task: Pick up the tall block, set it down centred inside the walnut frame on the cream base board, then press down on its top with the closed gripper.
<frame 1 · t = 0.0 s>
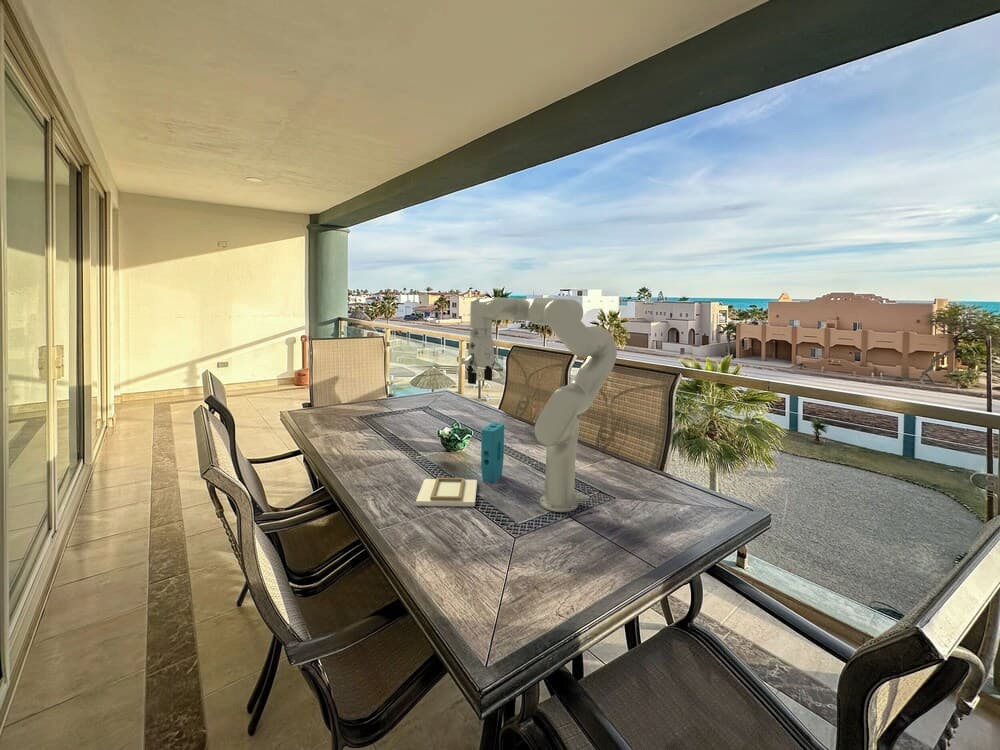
hand: (480, 381, 163), 37 cm above the table, tool pointing down, fingers open, 9 cm apart
block: (492, 478, 173), on the table
base board: (448, 494, 158), on the table
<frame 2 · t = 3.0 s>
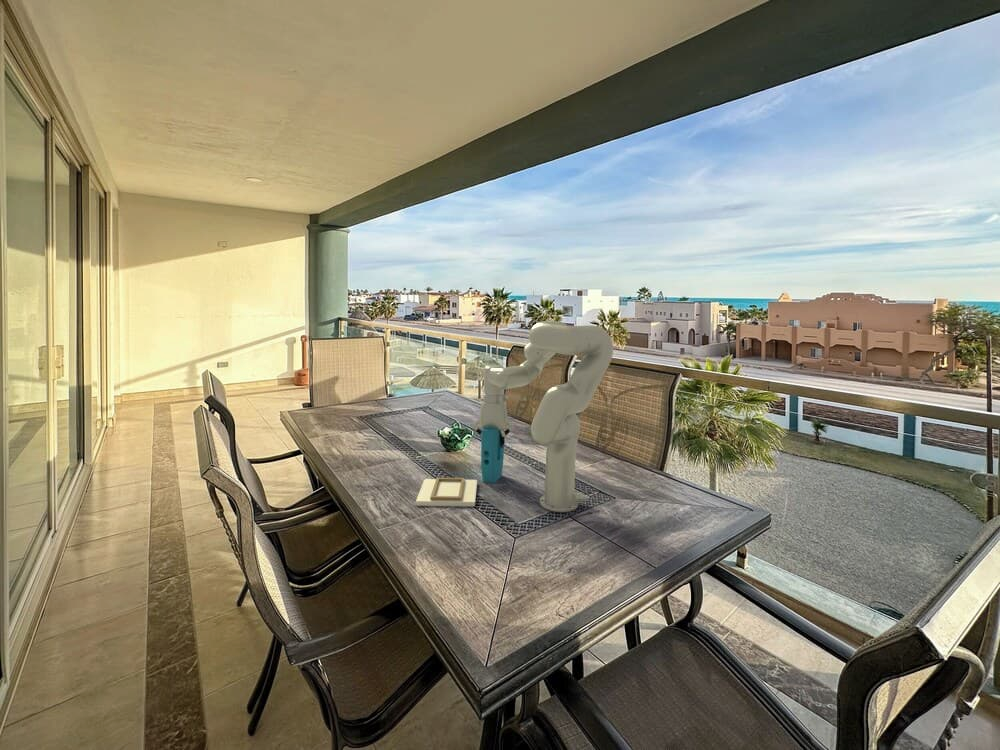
hand: (492, 446, 171), 13 cm above the table, tool pointing down, fingers closed on block, 5 cm apart
block: (492, 478, 173), on the table, touching gripper
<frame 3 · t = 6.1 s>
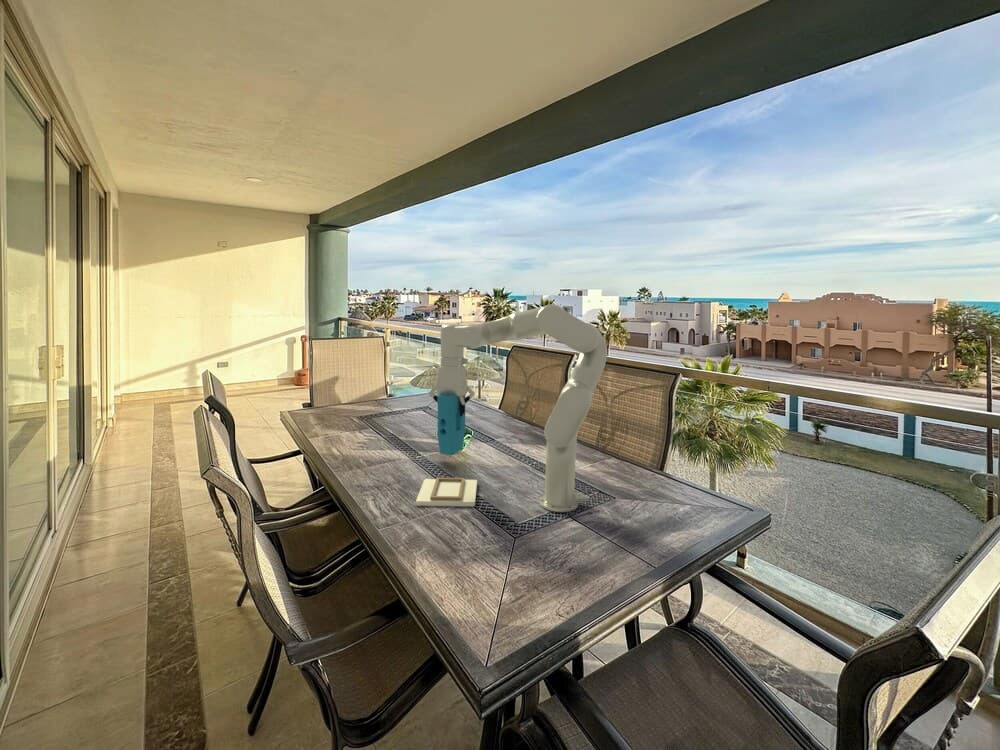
hand: (451, 414, 154), 28 cm above the table, tool pointing down, fingers closed on block, 5 cm apart
block: (451, 451, 156), point 15 cm above the table, touching gripper
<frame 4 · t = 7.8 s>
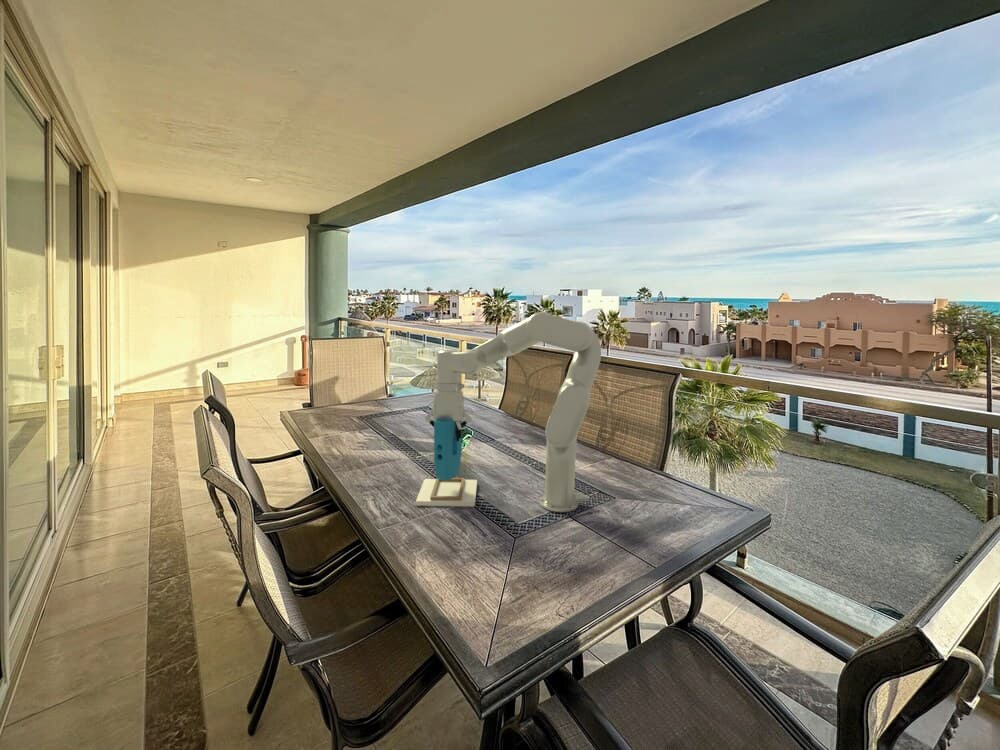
hand: (448, 439, 155), 19 cm above the table, tool pointing down, fingers closed on block, 5 cm apart
block: (447, 475, 157), point 7 cm above the table, touching gripper
when the fingers open (15 cm above the table, at t = 9.1 s): block stays where it is, resting on base board.
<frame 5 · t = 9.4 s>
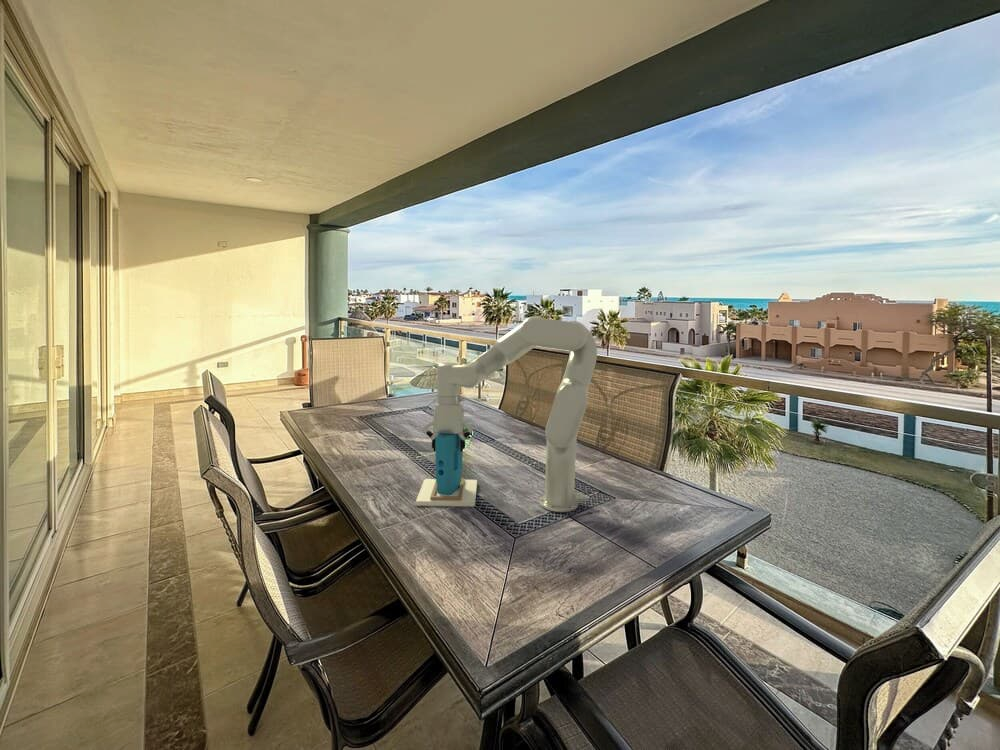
hand: (448, 450, 155), 16 cm above the table, tool pointing down, fingers open, 8 cm apart
block: (449, 490, 157), point 1 cm above the table, touching base board
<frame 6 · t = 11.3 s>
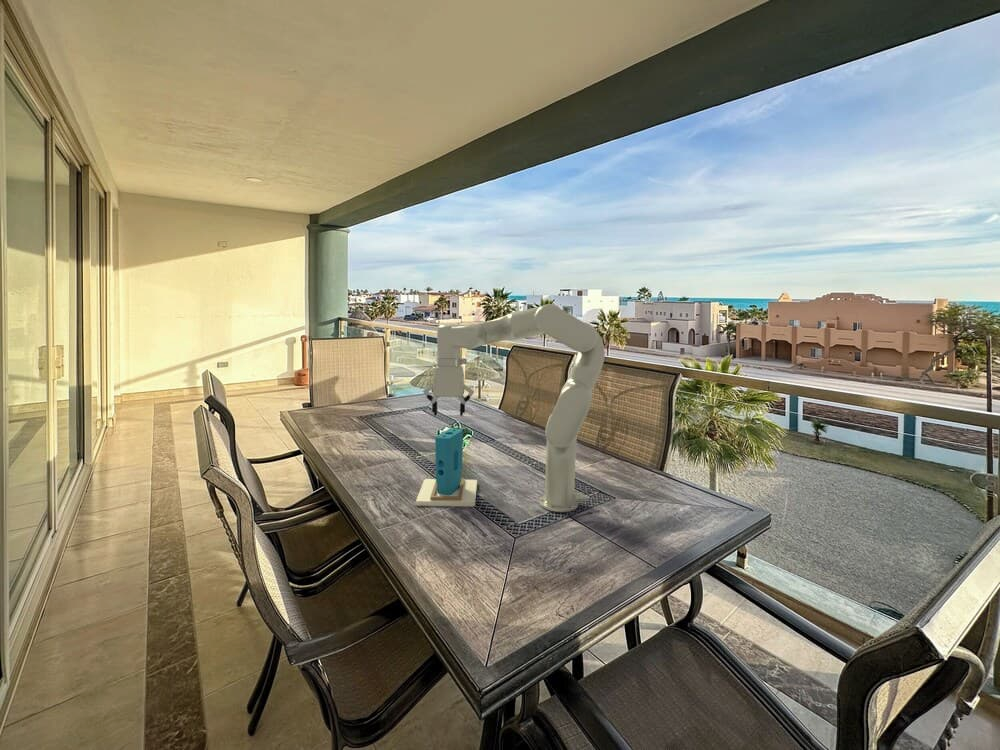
hand: (448, 414, 153), 28 cm above the table, tool pointing down, fingers open, 8 cm apart
nothing on the table moved.
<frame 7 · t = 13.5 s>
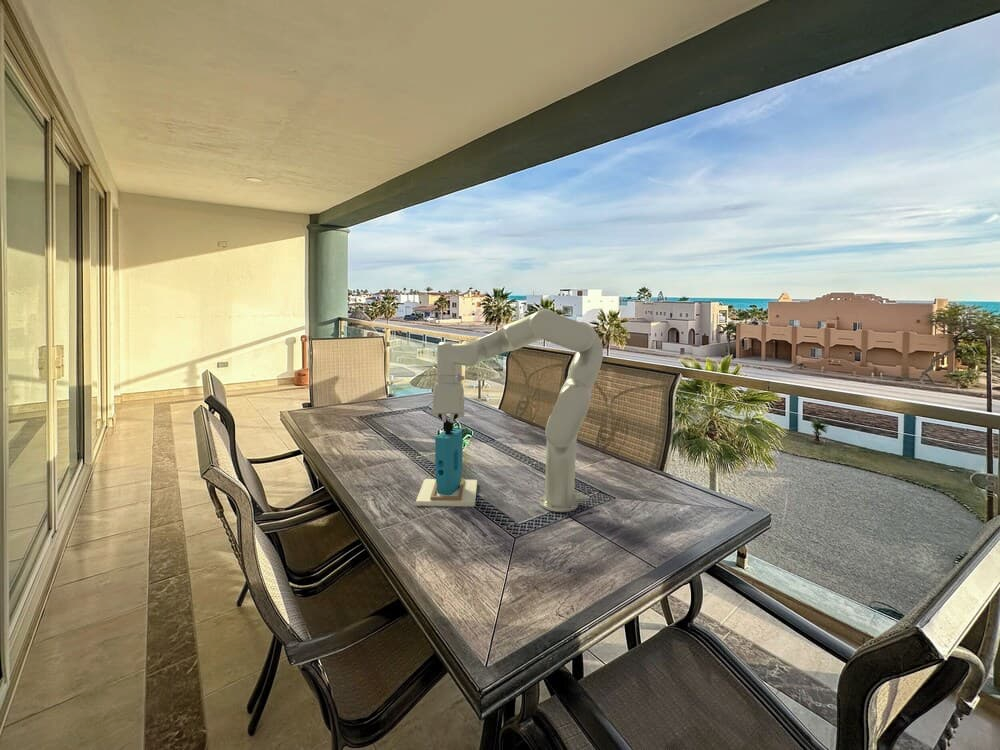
hand: (448, 433, 154), 22 cm above the table, tool pointing down, fingers closed
block: (449, 490, 157), point 1 cm above the table, touching base board, gripper
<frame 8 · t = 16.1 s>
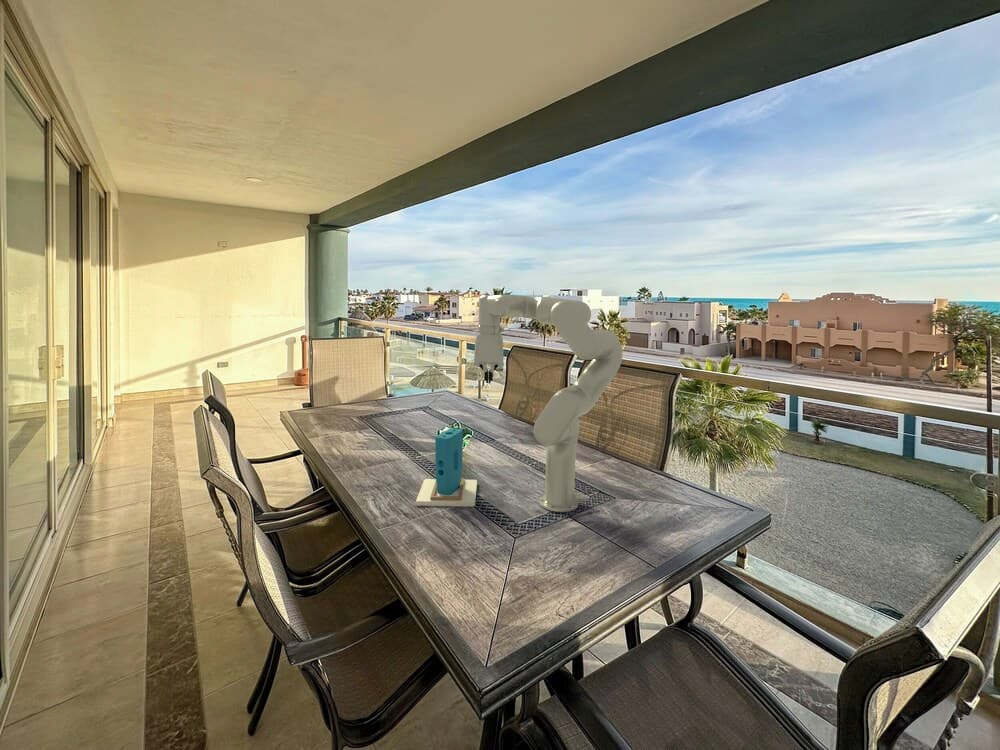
hand: (488, 382, 163), 37 cm above the table, tool pointing down, fingers closed
block: (449, 490, 157), point 1 cm above the table, touching base board
at the end: block 0.3 cm off-centre on the base board, point 1.3 cm above the base board's base; block tilted 0°; the gripper is holding nothing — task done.
